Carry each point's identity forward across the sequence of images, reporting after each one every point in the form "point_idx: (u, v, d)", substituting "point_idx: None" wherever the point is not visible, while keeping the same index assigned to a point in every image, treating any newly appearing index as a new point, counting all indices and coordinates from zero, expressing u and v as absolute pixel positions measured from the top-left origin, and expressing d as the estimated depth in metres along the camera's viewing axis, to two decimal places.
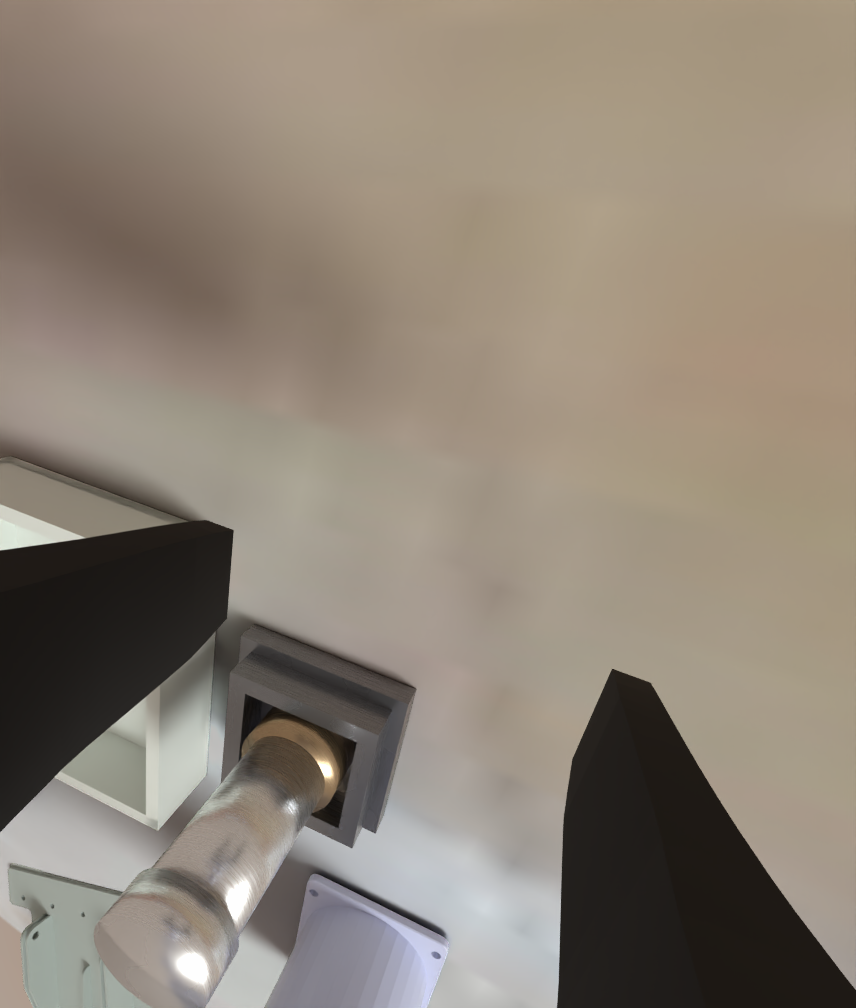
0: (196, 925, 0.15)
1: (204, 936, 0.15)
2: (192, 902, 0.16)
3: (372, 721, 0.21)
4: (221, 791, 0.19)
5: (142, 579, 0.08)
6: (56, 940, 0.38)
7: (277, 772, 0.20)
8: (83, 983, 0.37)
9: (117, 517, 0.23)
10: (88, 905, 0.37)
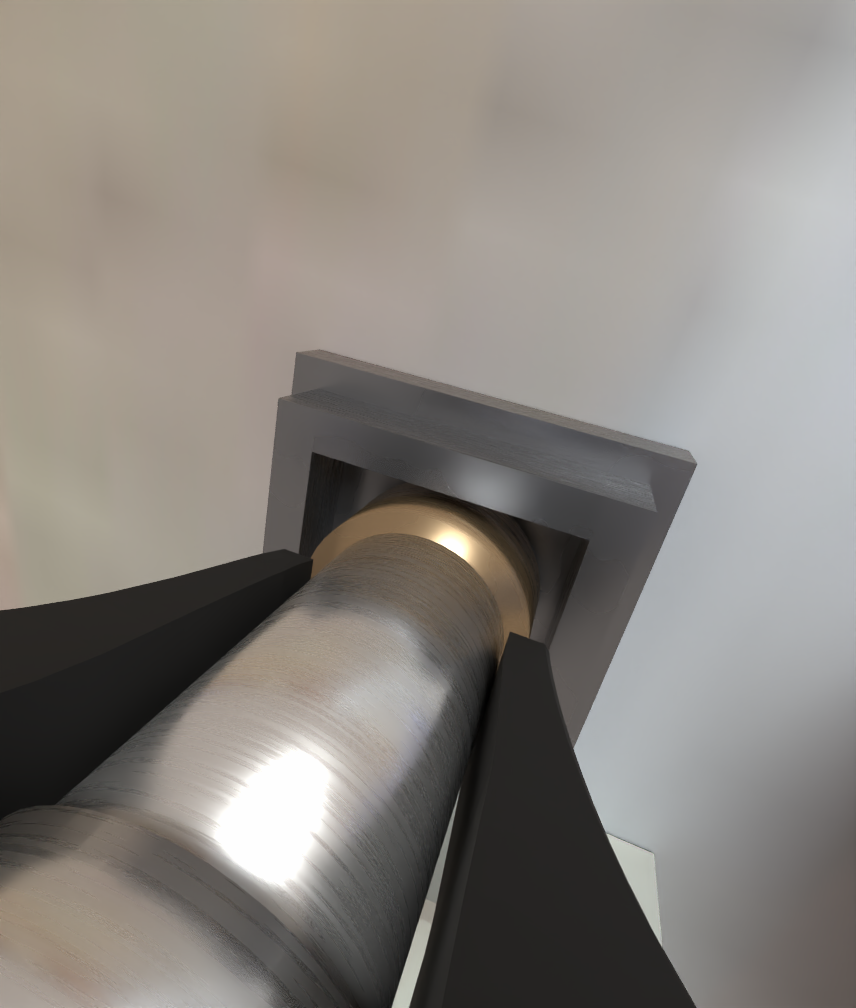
0: None
1: None
2: None
3: None
4: None
5: (237, 617, 0.08)
6: None
7: None
8: None
9: None
10: None
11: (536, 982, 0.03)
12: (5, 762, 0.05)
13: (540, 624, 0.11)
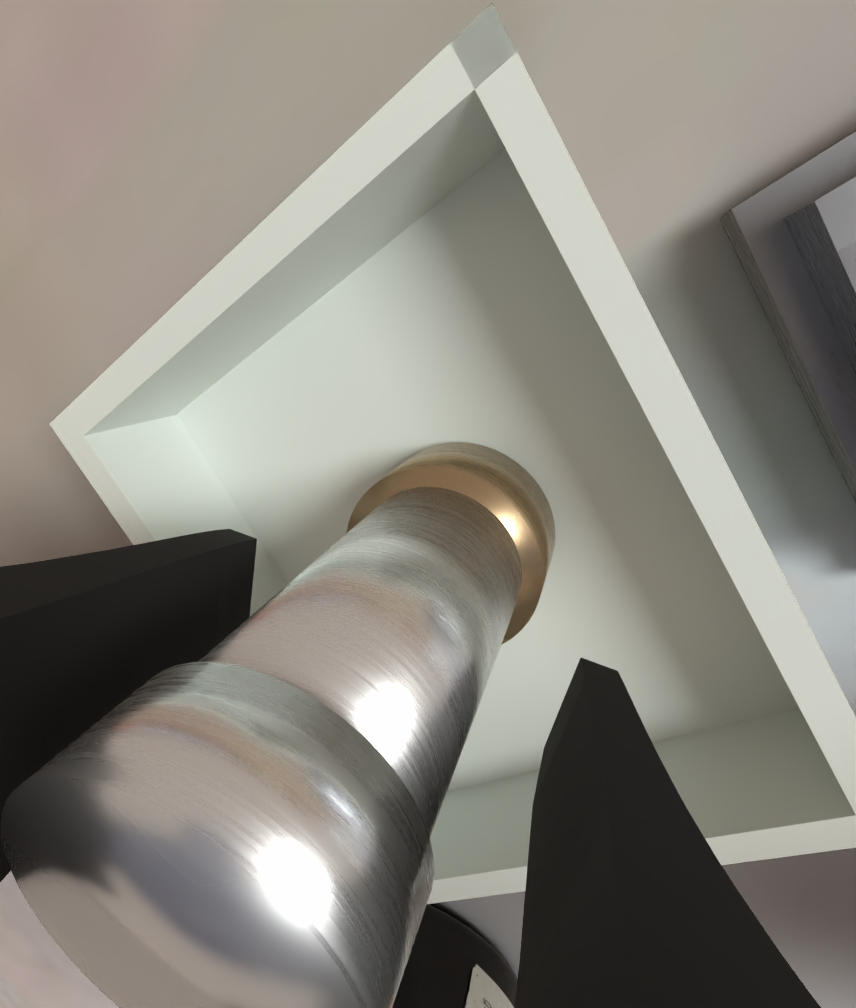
0: (88, 729, 0.05)
1: (107, 723, 0.05)
2: None
3: None
4: None
5: (170, 590, 0.08)
6: None
7: None
8: None
9: None
10: None
11: None
12: None
13: None
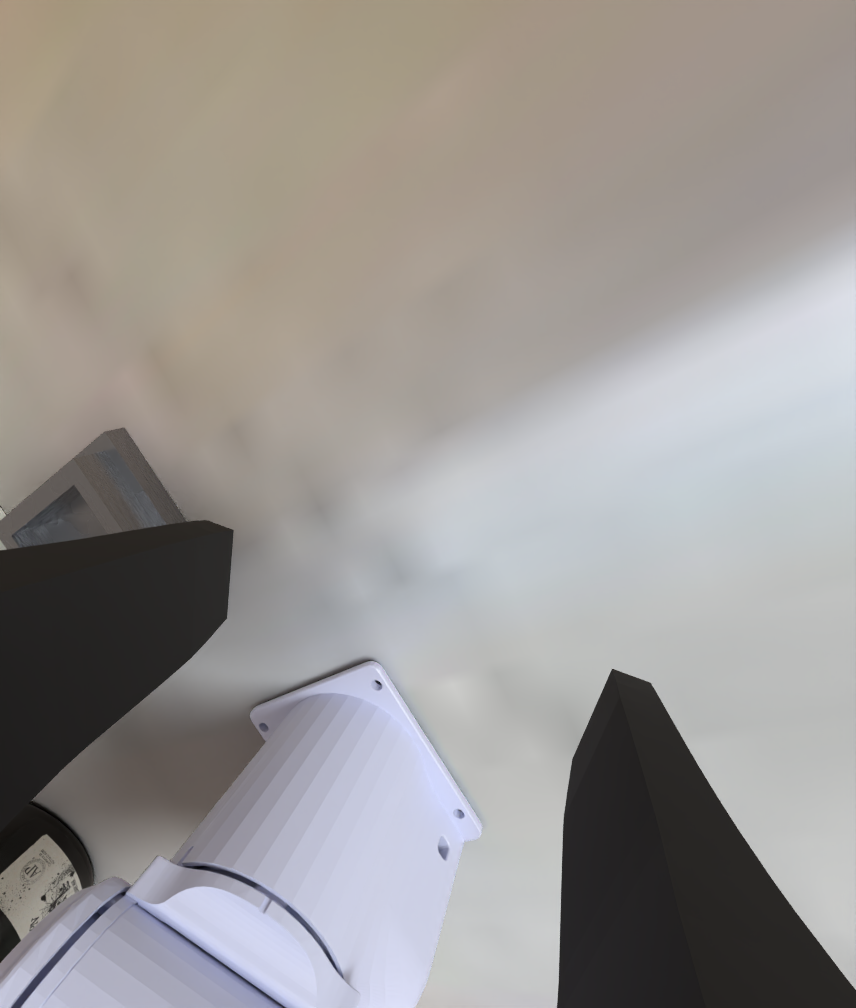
0: None
1: None
2: None
3: None
4: None
5: (142, 579, 0.08)
6: None
7: None
8: None
9: None
10: None
11: None
12: None
13: None
